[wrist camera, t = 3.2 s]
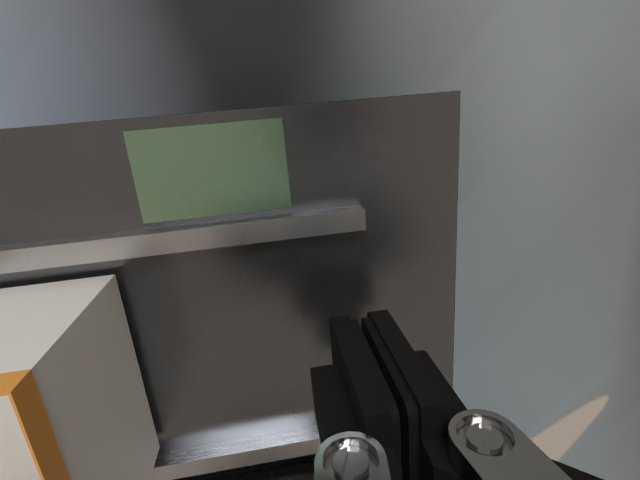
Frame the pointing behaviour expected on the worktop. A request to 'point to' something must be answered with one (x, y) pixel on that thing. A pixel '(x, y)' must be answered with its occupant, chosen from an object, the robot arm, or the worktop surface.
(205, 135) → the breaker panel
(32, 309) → the block
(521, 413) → the worktop surface
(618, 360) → the worktop surface
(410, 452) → the robot arm
